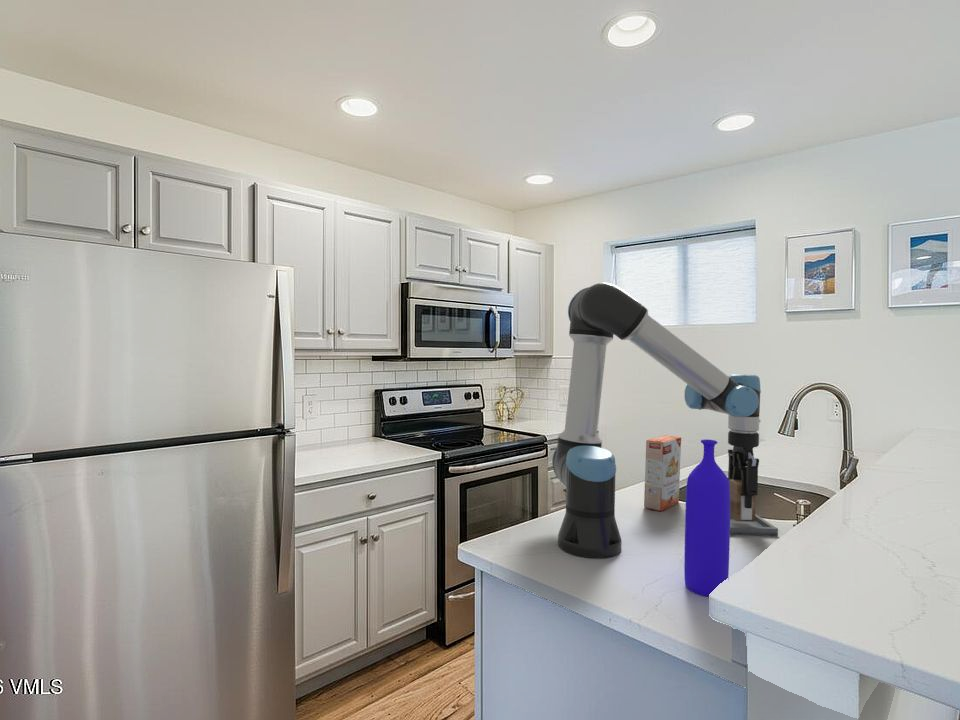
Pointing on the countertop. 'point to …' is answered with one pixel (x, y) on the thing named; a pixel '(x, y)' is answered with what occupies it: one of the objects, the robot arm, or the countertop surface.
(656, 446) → the cracker box
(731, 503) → the walnut block
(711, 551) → the bottle
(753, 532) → the slate tray
